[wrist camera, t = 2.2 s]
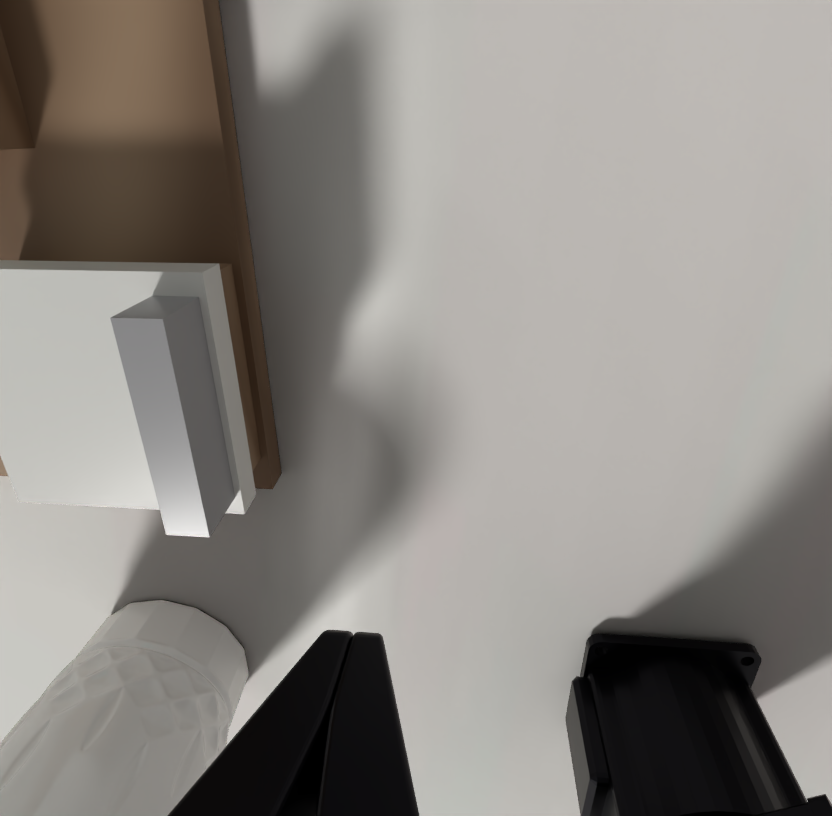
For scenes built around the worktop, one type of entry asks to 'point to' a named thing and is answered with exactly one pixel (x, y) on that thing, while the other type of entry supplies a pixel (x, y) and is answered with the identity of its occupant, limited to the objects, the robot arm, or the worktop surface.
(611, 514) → the worktop surface
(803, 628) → the worktop surface
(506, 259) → the worktop surface
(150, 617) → the white cup
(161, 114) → the board
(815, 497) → the worktop surface
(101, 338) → the lid
